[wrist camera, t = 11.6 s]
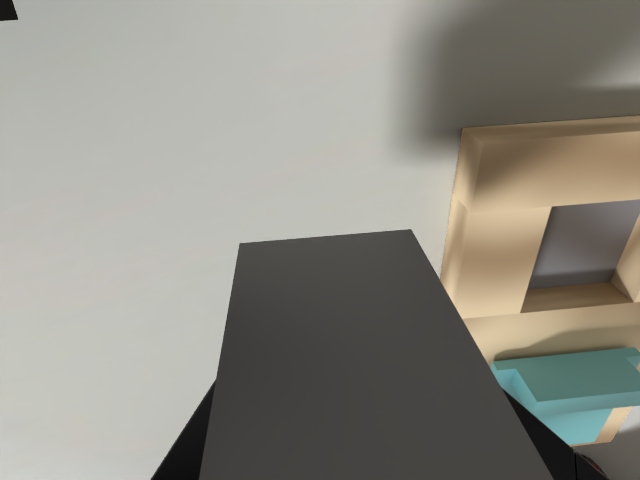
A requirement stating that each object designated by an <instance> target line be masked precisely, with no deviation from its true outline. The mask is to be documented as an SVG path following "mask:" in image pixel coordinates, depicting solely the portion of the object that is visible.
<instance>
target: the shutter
mask: <svg viewBox="0 0 640 480" xmlns="http://www.w3.org/2000/svg"><path fill="white" fill-rule="evenodd" d="M639 362H640V352H639V351H638V350H637V349H636V348H635V347H630V348H620V349H610V350H600V351H591V352H581V353H571V354H561V355H551V356H541V357H531V358H521V359H512V360H502V361H492V363H491V367H490V369H491V371H492V372H493V374H494V376H495V378H496V379H497V381H498V383H499V385H500V386H501V387H502V388H503V389H504V390H505V391H506V392H508V393H509V394H510V395H511V396H512V397H513V398H515V399H516V400H517V401H518V402H519V403H520V404H522V405H523V406H524V407H525V408H526V409H527V410H529V411H530V412H531V413H532V414H533V415H534V416H536V417H537V418H538V419H539V420H540V421H541V422H543V423H544V424H545V425H546V426H547V427H548V428H549V429H551V430H552V431H553V432H554V433H555V434H556V435H558V436H559V437H560V438H561V439H562V440H563V441H565V442H566V443H567V444H568V445H573V444H582V443H591V442H595V440H596V438H597V437H598V435H599V433H600V431H601V430H602V428H603V426H604V424H605V423H606V421H607V419H608V417H609V415H610V414H611V412H612V410H613V408H620V407H630V406H639V405H640V372H639V371H638V370H637V369H636V368H637V366H638V364H639Z"/></svg>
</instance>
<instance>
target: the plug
mask: <svg viewBox="0 0 640 480" xmlns="http://www.w3.org/2000/svg"><path fill="white" fill-rule="evenodd" d="M199 480H554V479H553V477H552V476H551V474H550V472H549V470H548V469H547V467H546V465H545V463H544V462H543V460H542V458H541V456H540V455H539V453H538V451H537V449H536V448H535V446H534V444H533V442H532V441H531V439H530V437H529V435H528V434H527V432H526V430H525V428H524V427H523V425H522V423H521V421H520V420H519V418H518V416H517V414H516V413H515V411H514V409H513V407H512V406H511V404H510V402H509V400H508V399H507V397H506V395H505V393H504V392H503V390H502V388H501V386H500V385H499V383H498V381H497V379H496V378H495V376H494V374H493V372H492V371H491V369H490V367H489V365H488V363H487V362H486V360H485V358H484V356H483V355H482V353H481V351H480V349H479V348H478V346H477V344H476V342H475V341H474V339H473V337H472V335H471V334H470V332H469V330H468V328H467V327H466V325H465V323H464V321H463V320H462V318H461V316H460V314H459V313H458V311H457V309H456V307H455V306H454V304H453V302H452V300H451V299H450V297H449V295H448V293H447V292H446V290H445V288H444V286H443V285H442V283H441V281H440V279H439V278H438V276H437V274H436V272H435V271H434V269H433V267H432V265H431V264H430V262H429V260H428V258H427V257H426V255H425V253H424V251H423V250H422V248H421V246H420V244H419V243H418V241H417V239H416V237H415V235H414V234H413V232H412V230H411V229H408V230H396V231H384V232H372V233H360V234H348V235H336V236H323V237H311V238H299V239H287V240H275V241H263V242H251V243H240V245H239V250H238V256H237V262H236V268H235V274H234V279H233V285H232V291H231V297H230V302H229V308H228V314H227V320H226V326H225V331H224V337H223V343H222V349H221V354H220V360H219V366H218V372H217V378H216V383H215V389H214V395H213V401H212V407H211V412H210V418H209V424H208V430H207V435H206V441H205V447H204V453H203V459H202V464H201V470H200V476H199Z"/></svg>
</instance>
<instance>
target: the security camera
mask: <svg viewBox="0 0 640 480" xmlns="http://www.w3.org/2000/svg"><path fill="white" fill-rule="evenodd" d="M5 20H18V17H17V14H16V11H15V7H14V4H13V1H12V0H0V21H5Z"/></svg>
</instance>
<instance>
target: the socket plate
mask: <svg viewBox="0 0 640 480" xmlns="http://www.w3.org/2000/svg"><path fill="white" fill-rule="evenodd" d="M440 281H441V283H442V285H443V286H444V288H445V290H446V292H447V293H448V295H449V297H450V299H451V300H452V302H453V304H454V306H455V307H456V309H457V311H458V313H459V314H460V316H461V318H462V320H463V321H464V323H465V325H466V327H467V328H468V330H469V332H470V334H471V335H472V337H473V339H474V341H475V342H476V344H477V346H478V348H479V349H480V351H481V353H482V355H483V356H484V358H485V360H486V362H487V363H488V365H489V367H491V363H492V361H502V360H512V359H521V358H531V357H541V356H551V355H561V354H571V353H581V352H591V351H600V350H610V349H620V348H630V347H635V348H636V349H637V350H638V351H639V352H640V115H639V116H625V117H610V118H596V119H582V120H568V121H554V122H540V123H526V124H512V125H498V126H484V127H470V128H462V133H461V140H460V147H459V154H458V161H457V167H456V174H455V181H454V188H453V195H452V202H451V208H450V215H449V222H448V229H447V236H446V243H445V249H444V256H443V263H442V270H441V277H440ZM636 369H637V370H638V371H639V372H640V362H639V364H638V366H637V368H636ZM631 408H632V406H630V407H620V408H613V410H612V412H611V414H610V415H609V417H608V419H607V421H606V423H605V424H604V426H603V428H602V430H601V431H600V433H599V435H598V437H597V438H596V440H595V442H591V443H582V444H573V445H569V446H570V447H571V446H580V445H589V444H597V443H606V442H611V441H612V440H613V438H614V436H615V435H616V433H617V431H618V430H619V428H620V426H621V425H622V423H623V421H624V420H625V418H626V416H627V415H628V413H629V411H630V410H631Z"/></svg>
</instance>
